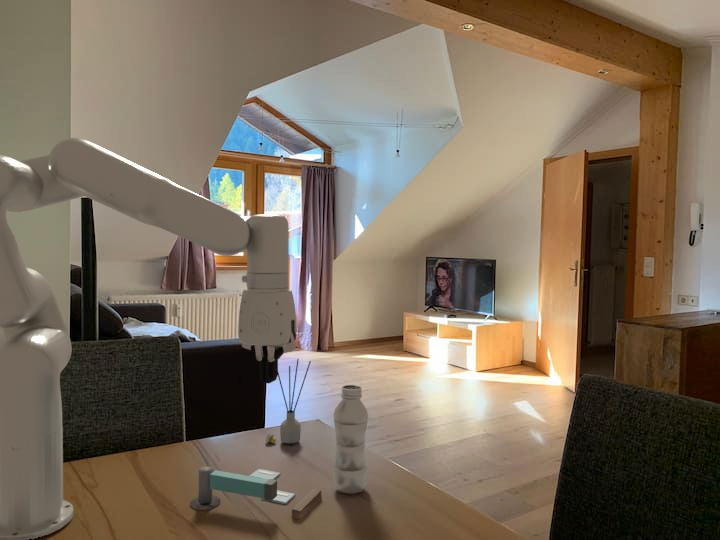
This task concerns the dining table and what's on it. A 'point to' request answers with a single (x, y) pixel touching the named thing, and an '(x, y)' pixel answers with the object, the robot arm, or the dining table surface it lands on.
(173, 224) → the robot arm
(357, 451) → the plastic bottle
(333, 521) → the dining table surface
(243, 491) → the boom bar
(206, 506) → the pivot plate
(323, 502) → the dining table surface
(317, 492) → the sill
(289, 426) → the reed diffuser
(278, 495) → the label cards
